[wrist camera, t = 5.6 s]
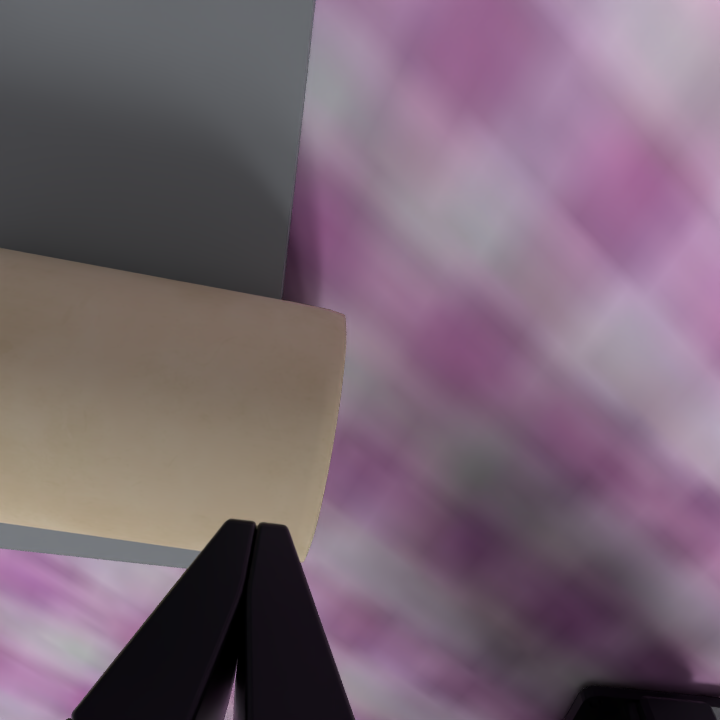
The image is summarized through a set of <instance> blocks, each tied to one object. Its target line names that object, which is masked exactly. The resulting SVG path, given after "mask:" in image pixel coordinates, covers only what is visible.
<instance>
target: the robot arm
mask: <svg viewBox="0 0 720 720" xmlns="http://www.w3.org/2000/svg"><path fill="white" fill-rule="evenodd" d="M236 668H237V671H236ZM235 673H236V680H235V693H234V714H233V720H355V718H354V715H353V712H352V709H351V707H350V704H349V701H348V698H347V695H346V692H345V689H344V686H343V684H342V681H341V678H340V675H339V672H338V669H337V666H336V663H335V661H334V658H333V655H332V652H331V649H330V646H329V643H328V640H327V638H326V635H325V632H324V629H323V626H322V623H321V620H320V617H319V615H318V612H317V609H316V606H315V603H314V600H313V597H312V594H311V592H310V589H309V586H308V583H307V580H306V577H305V574H304V571H303V569H302V566H301V563H300V560H299V557H298V554H297V551H296V548H295V546H294V543H293V540H292V537H291V534H290V531H289V529H288V527H287V526H286V525H283V524H276V523H267V522H261V523H259V524H258V526H257V525H256V523H255V522H254V521H250V520H241V519H228V520H227V521H225V522H224V524H223V525H222V526H221V527H220V528H219V530H218V531H217V532H216V533H215V535H214V536H213V537H212V538H211V540H210V541H209V542H208V543H207V545H206V546H205V547H204V548H203V550H202V551H201V552H200V553H199V555H198V556H197V557H196V558H195V560H194V561H193V562H192V563H191V565H190V566H189V567H188V568H187V570H186V571H185V572H184V573H183V575H182V576H181V577H180V578H179V580H178V581H177V582H176V583H175V585H174V586H173V587H172V588H171V590H170V591H169V592H168V593H167V595H166V596H165V597H164V598H163V600H162V601H161V602H160V603H159V605H158V606H157V607H156V608H155V610H154V611H153V612H152V613H151V615H150V616H149V617H148V618H147V620H146V621H145V622H144V623H143V625H142V626H141V627H140V628H139V630H138V631H137V632H136V633H135V635H134V636H133V637H132V638H131V640H130V641H129V642H128V643H127V645H126V646H125V647H124V648H123V650H122V651H121V652H120V653H119V655H118V656H117V657H116V658H115V660H114V661H113V662H112V663H111V665H110V666H109V667H108V668H107V670H106V671H105V672H104V673H103V675H102V676H101V677H100V678H99V680H98V681H97V682H96V683H95V685H94V686H93V687H92V688H91V690H90V691H89V692H88V693H87V695H86V696H85V697H84V698H83V700H82V701H81V702H80V703H79V705H78V706H77V707H76V708H75V710H74V711H73V712H72V715H71V716H72V719H71V718H68V719H66V720H224V717H225V714H226V710H227V706H228V703H229V699H230V695H231V691H232V687H233V683H234V678H235ZM564 720H720V698H715V697H705V696H695V695H685V694H675V693H665V692H655V691H644V690H634V689H624V688H614V687H604V686H589V687H586V688H584V689H582V690H581V692H580V693H579V695H578V696H577V698H576V700H575V702H574V703H573V705H572V707H571V709H570V710H569V712H568V714H567V716H566V717H565V719H564Z"/></svg>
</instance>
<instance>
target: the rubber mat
mask: <svg viewBox="0 0 720 720" xmlns="http://www.w3.org/2000/svg"><path fill="white" fill-rule="evenodd" d="M315 1H316V0H0V248H4V249H9V250H15V251H20V252H26V253H31V254H36V255H42V256H47V257H53V258H58V259H63V260H69V261H74V262H80V263H85V264H90V265H96V266H101V267H107V268H112V269H118V270H123V271H128V272H134V273H139V274H145V275H150V276H155V277H161V278H166V279H172V280H177V281H182V282H188V283H193V284H199V285H204V286H209V287H215V288H220V289H226V290H231V291H237V292H242V293H247V294H253V295H258V296H264V297H269V298H274V299H280V300H282V295H283V287H284V278H285V269H286V260H287V251H288V242H289V233H290V224H291V215H292V206H293V197H294V188H295V179H296V170H297V161H298V153H299V144H300V135H301V126H302V117H303V108H304V99H305V90H306V81H307V72H308V63H309V54H310V45H311V36H312V28H313V19H314V10H315ZM0 548H2V549H11V550H20V551H29V552H39V553H48V554H57V555H66V556H76V557H85V558H94V559H103V560H113V561H122V562H131V563H140V564H149V565H159V566H168V567H177V568H186V569H187V568H188V567H189V566H190V565H191V563H192V562H193V561H194V560H195V558H196V557H197V556H198V555H199V553H200V552H201V551H196V550H189V549H182V548H175V547H168V546H161V545H154V544H147V543H140V542H133V541H126V540H119V539H112V538H105V537H98V536H91V535H84V534H77V533H70V532H63V531H56V530H49V529H42V528H35V527H28V526H21V525H14V524H7V523H0Z"/></svg>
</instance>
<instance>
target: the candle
mask: <svg viewBox="0 0 720 720" xmlns="http://www.w3.org/2000/svg"><path fill="white" fill-rule="evenodd" d="M345 353H346V318H345V315H344V314H341V313H338V312H335V311H333V310H330V309H325V308H320V307H315V306H310V305H305V304H301V303H296V302H291V301H285V300H280V299H274V298H269V297H264V296H258V295H253V294H247V293H242V292H237V291H231V290H226V289H220V288H215V287H209V286H204V285H199V284H193V283H188V282H182V281H177V280H172V279H166V278H161V277H155V276H150V275H145V274H139V273H134V272H128V271H123V270H118V269H112V268H107V267H101V266H96V265H90V264H85V263H80V262H74V261H69V260H63V259H58V258H53V257H47V256H42V255H36V254H31V253H26V252H20V251H15V250H9V249H4V248H0V523H7V524H14V525H21V526H28V527H35V528H42V529H49V530H56V531H63V532H70V533H77V534H84V535H91V536H98V537H105V538H112V539H119V540H126V541H133V542H140V543H147V544H154V545H161V546H168V547H175V548H182V549H189V550H196V551H202V550H203V548H204V547H205V546H206V545H207V543H208V542H209V541H210V540H211V538H212V537H213V536H214V535H215V533H216V532H217V531H218V530H219V528H220V527H221V526H222V525H223V524H224V522H225V521H227V520H228V519H241V520H250V521H254V522H255V523H256V525H257V526H258V524H259V523H261V522H267V523H276V524H283V525H286V526H287V527H288V529H289V531H290V534H291V537H292V540H293V543H294V546H295V548H296V551H297V554H298V557H299V560H300V562H304V560H305V558H306V556H307V553H308V551H309V548H310V545H311V543H312V540H313V536H314V533H315V529H316V526H317V522H318V518H319V513H320V509H321V505H322V500H323V496H324V491H325V486H326V481H327V476H328V471H329V465H330V460H331V454H332V449H333V443H334V437H335V431H336V425H337V418H338V411H339V405H340V397H341V390H342V382H343V374H344V364H345Z"/></svg>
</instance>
